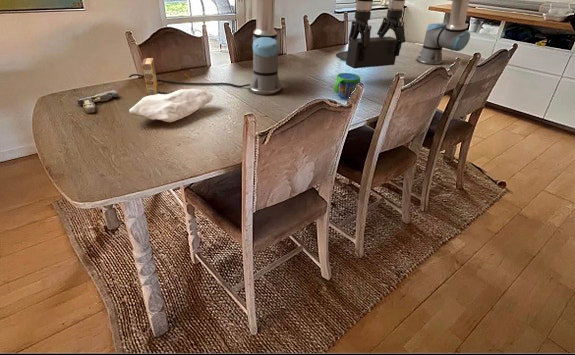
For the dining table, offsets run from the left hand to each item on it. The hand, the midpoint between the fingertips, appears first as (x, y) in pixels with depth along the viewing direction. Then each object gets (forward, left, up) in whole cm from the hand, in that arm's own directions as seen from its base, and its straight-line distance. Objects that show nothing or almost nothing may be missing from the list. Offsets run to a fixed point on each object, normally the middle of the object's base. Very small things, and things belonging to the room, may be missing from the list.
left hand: (356, 58), depth 187 cm
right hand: (+19, +5, +2) cm, 20 cm away
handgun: (-120, -23, -12) cm, 123 cm away
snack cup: (-11, -23, -12) cm, 28 cm away
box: (+9, +2, -4) cm, 10 cm away
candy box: (-100, -13, -12) cm, 102 cm away
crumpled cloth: (-90, -36, -12) cm, 97 cm away
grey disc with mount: (+22, +47, -12) cm, 54 cm away
